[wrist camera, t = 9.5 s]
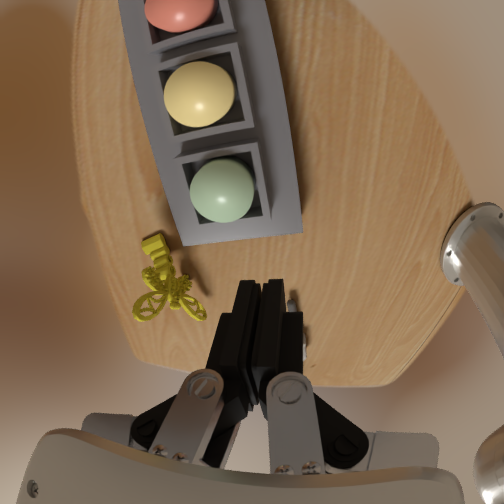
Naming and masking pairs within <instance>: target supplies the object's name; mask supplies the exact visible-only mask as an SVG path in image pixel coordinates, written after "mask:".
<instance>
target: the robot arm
mask: <svg viewBox="0 0 504 504" xmlns="http://www.w3.org/2000/svg"><path fill="white" fill-rule="evenodd" d="M440 263H441V268H442V271H443V273H444V275H445V277H446V278H447V279H448V280H449V281H450V282H451V283H452V284H455V285H459V286H465V287H466V289H467V291H468V292H469V294H470V295H471V297H472V299H473V300H474V302H475V304H476V305H477V307H478V309H479V311H480V312H481V314H482V316H483V318H484V319H485V322H486V323H487V325H488V327H489V329H490V331H491V333H492V335H493V337H494V339H495V341H496V343H497V345H498V347H499V349H500V352H501V354H502V356H503V358H504V211H503V210H502V209H501V208H500V207H499V206H497V205H496V204H494V203H490V202H487V203H486V202H485V203H480V204H477V205H475V206H473V207H471V208H469V209H468V210H467V211H465V212H464V213H463V214H462V215H461V216H460V217H459V218H458V219H457V220H456V222H455V223H454V224H453V226H452V227H451V228H450V230H449V232H448V234H447V236H446V238H445V240H444V243H443V246H442V250H441V256H440ZM259 402H260V405H261V409H262V412H263V415H264V418H265V419H266V420H267V421H268V435H269V453H270V473H271V474H261V473H250V472H240V471H232V470H224V467H225V465H226V463H227V460H228V457H229V455H230V452H231V449H232V447H233V444H234V441H235V438H236V436H237V433H238V430H239V427H240V424H241V420H242V419H244V418H245V417H247V414H248V411H253V406H254V405H258V403H259ZM438 455H439V442H438V441H437V439H436V437H434V436H433V435H432V434H428V433H400V432H382V431H376V433H373V432H363V431H362V430H361V429H360V428H359V427H357V426H356V425H354V424H353V423H352V422H351V421H349V420H348V419H347V418H345V417H344V416H343V415H341V414H340V413H339V412H337V411H336V410H335V409H334V408H332V407H331V406H330V405H329V404H327V403H326V402H325V401H324V400H322V399H321V398H319V396H317V395H316V394H315V393H314V392H313V388H312V385H311V382H310V381H309V379H308V378H307V377H306V376H304V375H303V312H286V303H285V293H284V283H283V279H269V281H268V283H264V284H263V289H262V292H261V286H260V283H257V284H256V283H255V280H241V281H240V283H239V286H238V290H237V294H236V298H235V302H234V306H233V310H232V313H222V314H221V316H220V319H219V323H218V326H217V330H216V333H215V337H214V340H213V344H212V347H211V350H210V354H209V357H208V361H207V364H206V368H205V369H199V370H196V371H194V372H192V373H191V374H189V375H188V376H187V377H186V379H185V380H184V382H183V384H182V386H181V388H180V390H179V392H178V394H176V395H174V396H173V397H171V398H169V399H168V400H166V401H164V402H162V403H160V404H159V405H157V406H155V407H153V408H151V409H150V410H148V411H146V412H144V413H142V414H140V415H139V416H136V417H135V416H133V415H129V414H128V415H127V414H126V415H125V414H107V413H91V414H89V415H87V416H86V418H85V419H84V421H83V423H82V428H81V430H77V429H70V428H59V429H54V430H50V431H49V432H47V433H45V435H44V436H43V437H42V438H41V439H40V441H39V442H38V444H37V446H36V448H35V450H34V452H33V454H32V456H31V459H30V461H29V464H28V466H27V469H26V472H25V475H24V478H23V481H22V484H21V488H20V491H19V495H18V498H17V503H16V504H465V503H464V495H463V491H462V487H461V484H460V482H459V480H458V479H457V477H456V476H455V475H454V474H453V473H451V472H449V471H446V470H443V469H439V468H437V462H438ZM473 476H474V482H475V485H476V489H477V491H478V493H479V495H480V497H481V499H482V500H483V502H484V503H485V504H504V425H502V426H501V427H499V428H498V429H497V430H496V431H494V432H493V433H492V434H491V435H489V436H488V437H487V438H486V439H485V441H484V442H483V443H482V444H481V446H480V447H479V449H478V451H477V453H476V456H475V459H474V465H473Z"/></svg>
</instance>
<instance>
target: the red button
mask: <svg viewBox="0 0 504 504" xmlns="http://www.w3.org/2000/svg"><path fill="white" fill-rule="evenodd" d="M217 8H218V0H146V2H145V9H144V10H145V15H146V18H147V19H148V21H149V22H150V23H151V24H152V25H154V26H155V27H158V28H160V29H163V30H165V31H168V32H171V33H174V34H185V33H188V32H192V31H195V30H199V29H202V28H203V27H205V26H206V25H207V24H208V23H209V22H210V21H211V20H212V19H213V18H214V16H215V14H216V12H217Z"/></svg>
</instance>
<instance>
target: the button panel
mask: <svg viewBox="0 0 504 504" xmlns="http://www.w3.org/2000/svg"><path fill="white" fill-rule="evenodd" d="M145 2H146V0H118V3H119V9H120V15H121V21H122V26H123V32H124V37H125V42H126V47H127V52H128V57H129V62H130V66H131V71H132V75H133V79H134V84H135V88H136V92H137V96H138V100H139V104H140V108H141V112H142V116H143V119H144V123H145V127H146V130H147V134H148V138H149V141H150V145H151V148H152V152H153V155H154V158H155V162H156V165H157V168H158V172H159V175H160V178H161V181H162V184H163V188H164V191H165V194H166V197H167V200H168V203H169V206H170V209H171V212H172V215H173V218H174V221H175V224H176V227H177V229H178V232H179V235H180V238H181V241H182V244H183V246H190V245H199V244H207V243H215V242H224V241H233V240H241V239H250V238H259V237H268V236H277V235H286V234H295V233H303V226H302V217H301V207H300V199H299V190H298V182H297V174H296V167H295V159H294V152H293V145H292V138H291V132H290V125H289V119H288V113H287V107H286V101H285V95H284V89H283V84H282V78H281V73H280V68H279V63H278V58H277V53H276V48H275V43H274V38H273V34H272V29H271V25H270V20H269V16H268V12H267V8H266V4H265V0H218V8H217V12H216V14H215V16H214V18H213V19H212V20H211V21H210V22H209V23H208V24H207V25H206V26H205V27H203V28H202V29H199V30H195V31H192V32H188V33H185V34H174V33H171V32H168V31H165V30H163V29H160V28H158V27H155V26H154V25H152V24H151V23H150V22H149V21H148V19H147V18H146V15H145V10H144V9H145ZM198 61H201V62H208V63H211V64H215V65H218V66H220V67H222V68H224V69H226V70H227V71H228V72H229V73H230V74H231V75H232V77H233V78H234V81H235V83H236V87H237V96H236V101H235V103H234V105H233V107H232V109H231V110H230V111H229V112H228V113H227V114H226V115H225V116H223V117H222V118H220V119H219V120H217V121H216V122H214V123H212V124H210V125H207V126H203V127H190V126H186V125H183V124H181V123H179V122H178V121H176V120H175V119H174V118H173V117H172V116H171V115H170V114H169V112H168V111H167V108H166V106H165V102H164V89H165V86H166V83H167V81H168V79H169V77H170V76H171V75H172V74H173V73H174V71H176V70H177V69H178V68H180V67H181V66H183V65H185V64H188V63H191V62H198ZM224 155H228V156H234V157H237V158H239V159H241V160H242V161H244V162H245V163H246V164H247V165H248V166H249V167H250V168H251V170H252V172H253V174H254V177H255V191H254V196H253V201H252V204H251V206H250V208H249V210H248V211H247V213H246V214H245V215H244V216H242V217H241V218H239V219H237V220H235V221H232V222H227V223H220V222H215V221H211V220H209V219H207V218H205V217H204V216H202V215H201V214H200V213H199V212H198V211H197V210H196V209H195V207H194V205H193V204H192V201H191V198H190V185H191V182H192V180H193V178H194V176H195V175H196V174H197V172H198V171H199V170H200V169H201V167H202V166H203V165H204V164H205V163H206V162H207V161H209V160H210V159H212V158H214V157H219V156H224Z"/></svg>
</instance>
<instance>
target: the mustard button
mask: <svg viewBox="0 0 504 504" xmlns="http://www.w3.org/2000/svg"><path fill="white" fill-rule="evenodd" d="M236 96H237V87H236V83H235V81H234V78H233V77H232V75H231V74H230V73H229V72H228V71H227V70H226V69H224V68H222V67H220V66H218V65H215V64H211V63H208V62H201V61H198V62H191V63H188V64H185V65H183V66H181V67H180V68H178V69H177V70H176V71H174V73H173V74H172V75H171V76H170V77H169V79H168V81H167V83H166V86H165V89H164V102H165V106H166V108H167V111H168V112H169V114H170V115H171V116H172V117H173V118H174V119H175V120H176V121H178V122H179V123H181V124H183V125H186V126H190V127H203V126H207V125H210V124H212V123H214V122H216V121H217V120H219V119H220V118H222V117H223V116H225V115H226V114H227V113H228V112H229V111H230V110H231V109H232V107H233V105H234V103H235V101H236Z"/></svg>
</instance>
